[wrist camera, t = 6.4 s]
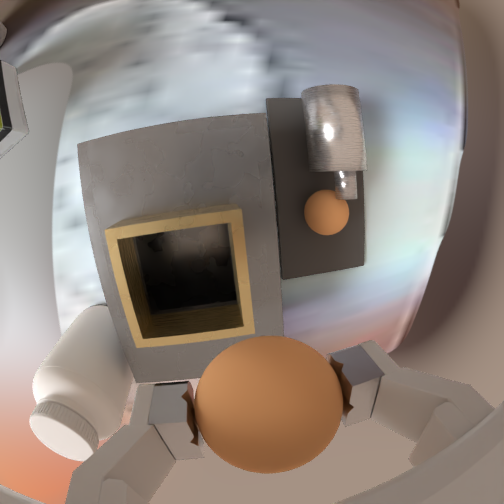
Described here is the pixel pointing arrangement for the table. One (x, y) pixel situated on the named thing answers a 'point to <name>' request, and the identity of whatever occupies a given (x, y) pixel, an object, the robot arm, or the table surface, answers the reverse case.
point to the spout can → (335, 135)
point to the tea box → (10, 110)
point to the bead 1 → (268, 404)
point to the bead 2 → (326, 212)
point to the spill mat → (298, 192)
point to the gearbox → (184, 239)
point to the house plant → (2, 33)
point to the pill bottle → (82, 387)
